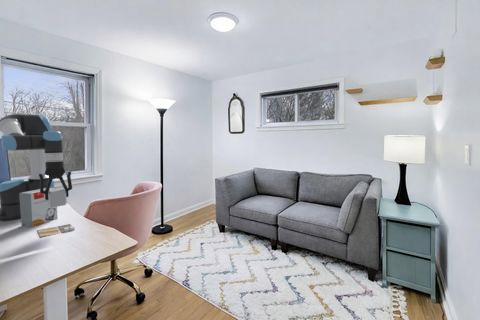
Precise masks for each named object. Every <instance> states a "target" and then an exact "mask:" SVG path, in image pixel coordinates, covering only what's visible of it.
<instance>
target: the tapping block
mask: <svg viewBox="0 0 480 320" xmlns="http://www.w3.org/2000/svg"><path fill="white" fill-rule="evenodd" d="M49 193H50V201H51V207H57V208H58V207H63V206H66V202H65V189H64V188H56V189H55V190H49Z"/></svg>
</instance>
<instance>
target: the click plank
mask: <svg viewBox="0 0 480 320" xmlns="http://www.w3.org/2000/svg"><path fill="white" fill-rule="evenodd" d="M57 227H58V226H54V227H48V228H41V229H38V230H36V231H37V234H38V236H39V238H40V239H42V238H45V237H50V236H54V235H58V234H61V232H60V231H59V229H58V228H57Z"/></svg>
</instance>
